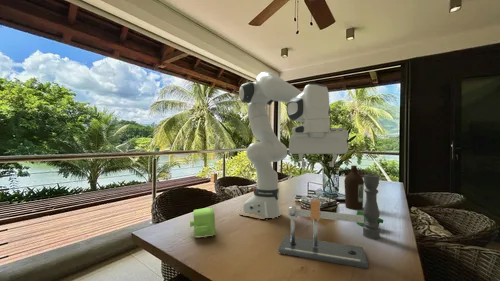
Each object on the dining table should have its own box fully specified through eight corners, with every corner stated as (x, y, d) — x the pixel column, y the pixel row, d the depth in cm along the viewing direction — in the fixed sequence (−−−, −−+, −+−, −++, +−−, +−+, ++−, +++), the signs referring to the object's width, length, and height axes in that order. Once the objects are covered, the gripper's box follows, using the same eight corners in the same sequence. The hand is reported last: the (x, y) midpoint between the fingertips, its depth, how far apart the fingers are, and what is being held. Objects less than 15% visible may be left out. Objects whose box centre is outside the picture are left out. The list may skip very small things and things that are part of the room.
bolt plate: (278, 253, 80) (278, 248, 80) (285, 239, 91) (285, 235, 91) (367, 268, 70) (367, 263, 70) (362, 251, 82) (362, 246, 82)
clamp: (377, 239, 102) (387, 223, 99) (365, 236, 101) (375, 220, 98) (363, 220, 114) (372, 205, 110) (353, 217, 113) (361, 203, 109)
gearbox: (190, 227, 106) (189, 206, 106) (212, 224, 108) (211, 204, 108) (190, 243, 88) (189, 218, 88) (216, 239, 91) (215, 215, 91)
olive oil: (341, 207, 137) (341, 165, 137) (348, 204, 144) (348, 164, 144) (359, 211, 129) (359, 167, 129) (366, 207, 136) (366, 165, 137)
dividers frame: (286, 244, 83) (286, 207, 84) (289, 237, 89) (289, 203, 89) (365, 256, 75) (365, 215, 75) (363, 248, 81) (363, 209, 81)
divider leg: (310, 247, 80) (310, 201, 80) (311, 242, 84) (311, 198, 84) (319, 249, 79) (319, 202, 79) (320, 243, 83) (320, 199, 83)
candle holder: (360, 233, 98) (359, 174, 98) (373, 232, 98) (373, 174, 98) (368, 239, 92) (368, 176, 92) (383, 238, 92) (383, 176, 92)
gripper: (347, 127, 82) (347, 166, 82) (290, 129, 89) (290, 165, 88) (349, 126, 76) (349, 168, 76) (287, 128, 83) (288, 166, 82)
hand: (317, 166), depth 82 cm, fingers open, 8 cm apart
